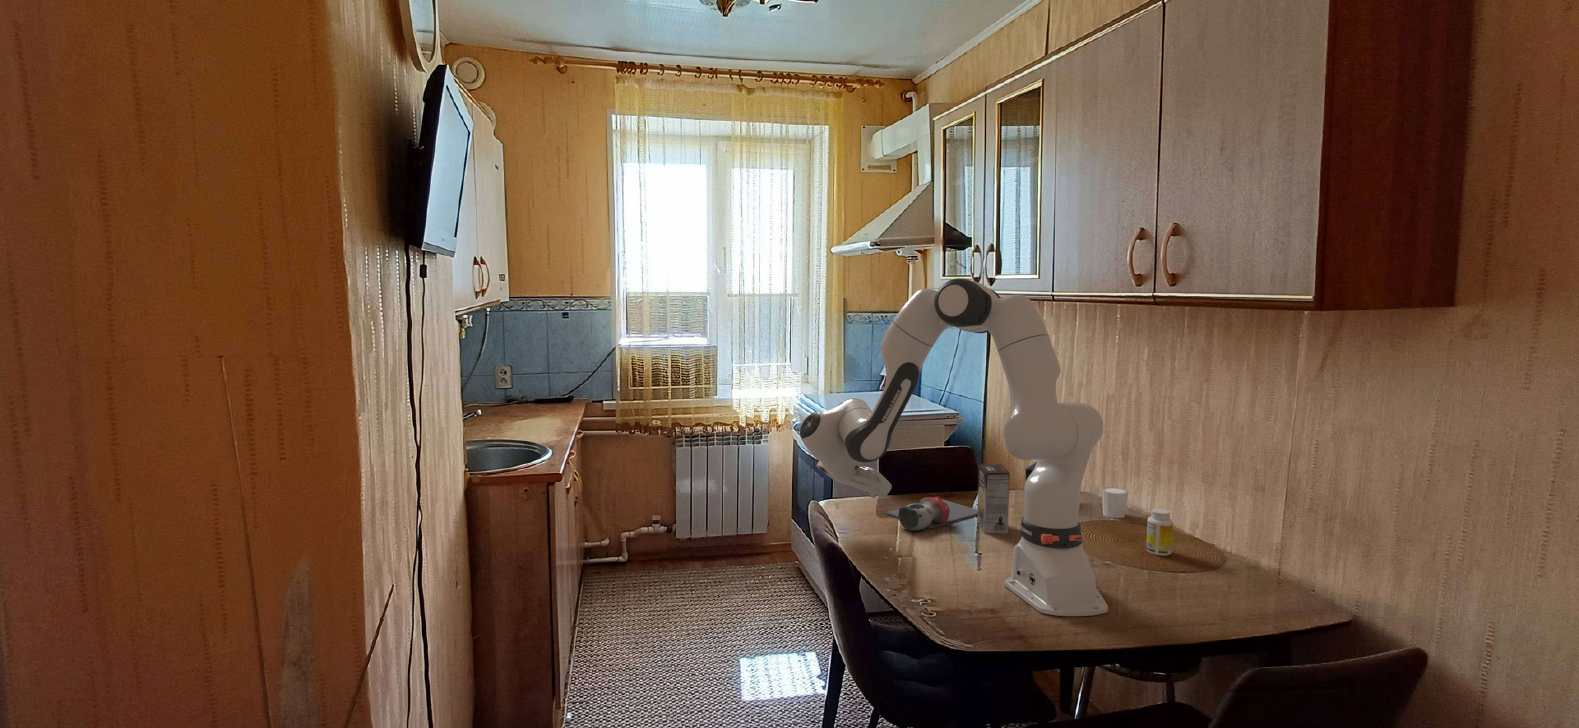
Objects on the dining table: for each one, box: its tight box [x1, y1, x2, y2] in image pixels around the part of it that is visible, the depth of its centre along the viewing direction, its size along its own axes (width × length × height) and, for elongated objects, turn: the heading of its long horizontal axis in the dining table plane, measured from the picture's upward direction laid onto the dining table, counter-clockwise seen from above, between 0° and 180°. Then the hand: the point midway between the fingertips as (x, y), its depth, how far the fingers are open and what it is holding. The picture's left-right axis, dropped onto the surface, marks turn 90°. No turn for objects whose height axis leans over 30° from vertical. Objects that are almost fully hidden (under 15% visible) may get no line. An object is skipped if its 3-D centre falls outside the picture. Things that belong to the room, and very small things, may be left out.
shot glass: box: [1101, 487, 1129, 519], centre depth 212 cm, size 7×7×7 cm
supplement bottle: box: [1145, 508, 1174, 557], centre depth 183 cm, size 6×6×10 cm
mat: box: [885, 498, 978, 530], centre depth 213 cm, size 22×16×1 cm
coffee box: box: [976, 463, 1011, 534], centre depth 201 cm, size 9×6×16 cm
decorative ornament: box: [897, 496, 950, 531], centre depth 203 cm, size 9×6×15 cm
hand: (872, 494), depth 198 cm, fingers closed
